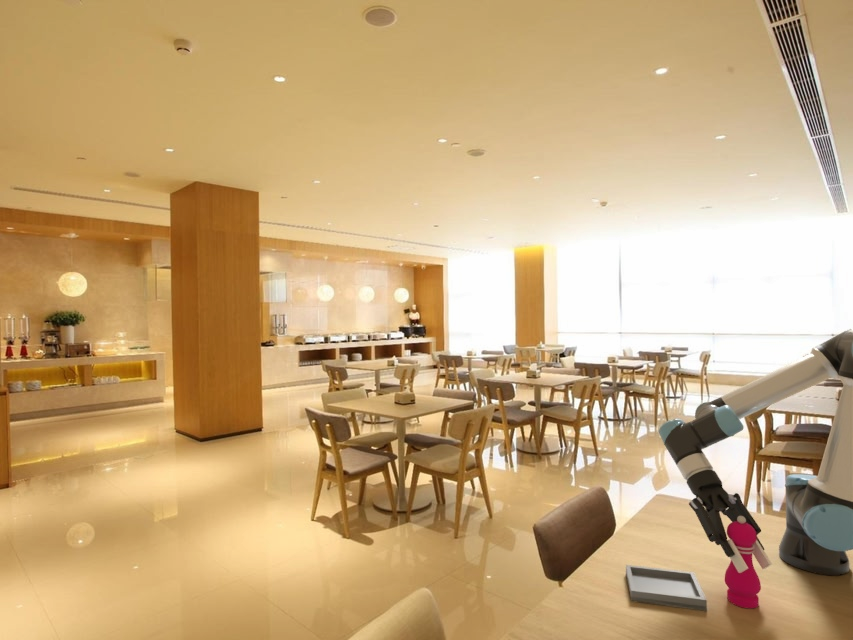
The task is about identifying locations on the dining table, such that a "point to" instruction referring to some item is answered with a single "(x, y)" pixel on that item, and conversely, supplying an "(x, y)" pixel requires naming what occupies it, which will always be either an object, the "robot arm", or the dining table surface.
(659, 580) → the tray
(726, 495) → the robot arm
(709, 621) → the dining table surface
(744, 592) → the pepper mill
